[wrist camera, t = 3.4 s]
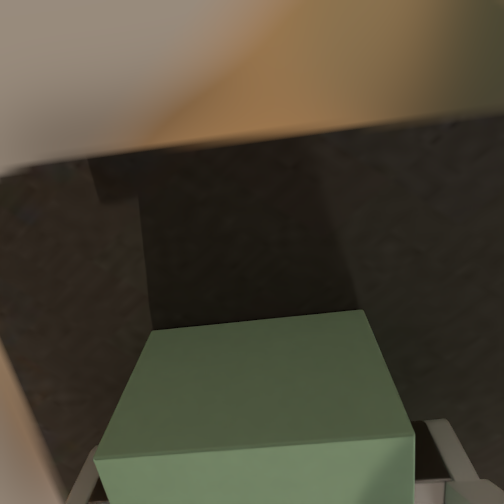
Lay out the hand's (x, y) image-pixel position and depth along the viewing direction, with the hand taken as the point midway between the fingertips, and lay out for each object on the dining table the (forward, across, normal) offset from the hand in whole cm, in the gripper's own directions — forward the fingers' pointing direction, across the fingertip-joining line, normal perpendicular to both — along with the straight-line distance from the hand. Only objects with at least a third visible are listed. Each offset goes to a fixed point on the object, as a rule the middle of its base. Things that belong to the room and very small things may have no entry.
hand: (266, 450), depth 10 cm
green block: (+2, 0, 0) cm, 2 cm away
